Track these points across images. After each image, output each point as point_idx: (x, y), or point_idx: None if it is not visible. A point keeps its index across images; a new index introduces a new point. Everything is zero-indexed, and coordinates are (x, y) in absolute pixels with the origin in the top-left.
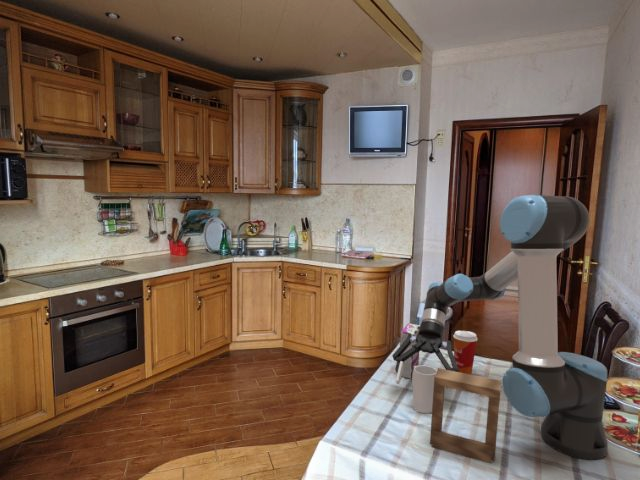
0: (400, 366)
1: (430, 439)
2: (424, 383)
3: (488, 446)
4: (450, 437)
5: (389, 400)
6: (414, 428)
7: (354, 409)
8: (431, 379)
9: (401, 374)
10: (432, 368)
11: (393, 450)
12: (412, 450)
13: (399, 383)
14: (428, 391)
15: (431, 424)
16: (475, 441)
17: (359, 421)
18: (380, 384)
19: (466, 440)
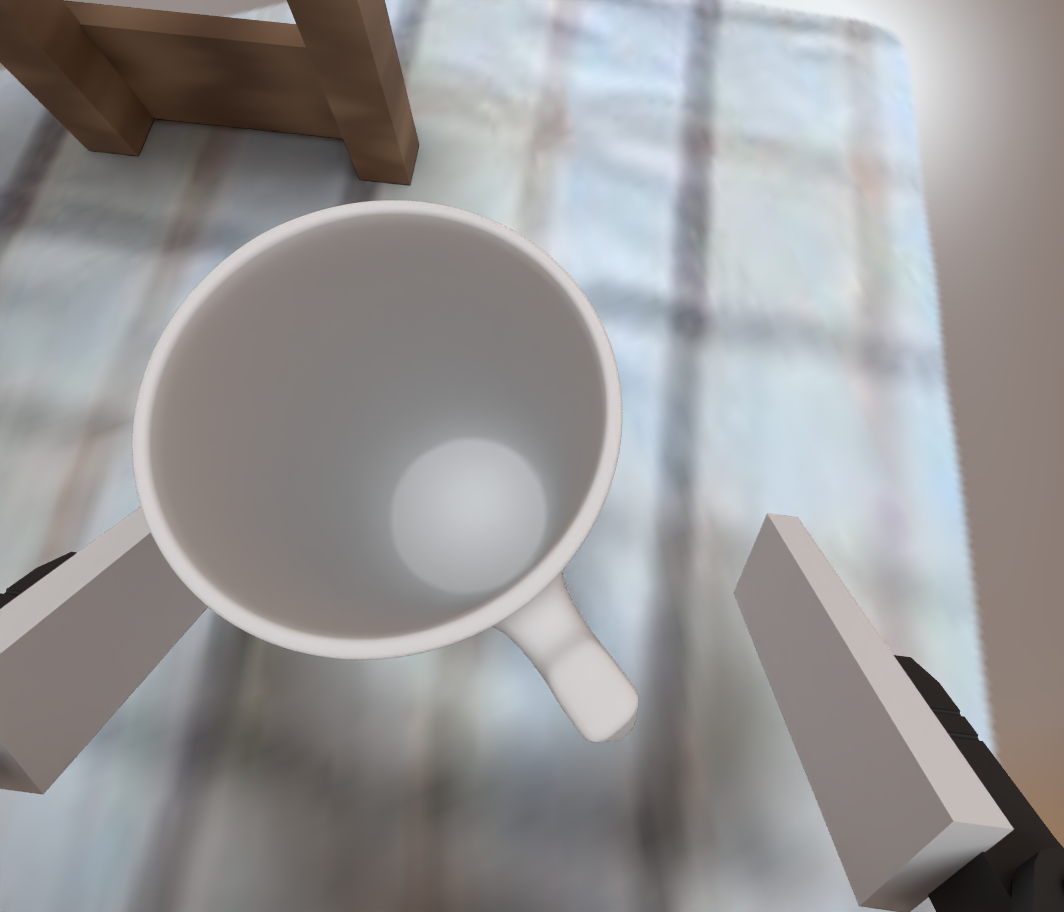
0: (895, 692)
1: (411, 121)
2: (427, 302)
3: (68, 4)
4: (283, 26)
5: (740, 540)
6: None
7: (916, 326)
8: (309, 287)
9: (782, 690)
10: (228, 589)
11: (588, 54)
12: (502, 78)
13: (738, 593)
14: (396, 366)
15: (386, 16)
16: (135, 24)
17: (829, 214)
18: None
19: (189, 18)
